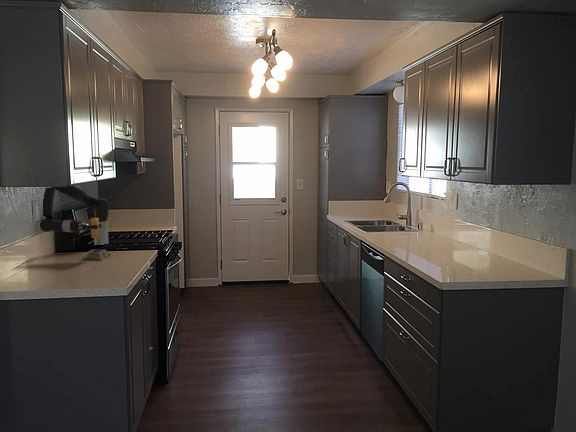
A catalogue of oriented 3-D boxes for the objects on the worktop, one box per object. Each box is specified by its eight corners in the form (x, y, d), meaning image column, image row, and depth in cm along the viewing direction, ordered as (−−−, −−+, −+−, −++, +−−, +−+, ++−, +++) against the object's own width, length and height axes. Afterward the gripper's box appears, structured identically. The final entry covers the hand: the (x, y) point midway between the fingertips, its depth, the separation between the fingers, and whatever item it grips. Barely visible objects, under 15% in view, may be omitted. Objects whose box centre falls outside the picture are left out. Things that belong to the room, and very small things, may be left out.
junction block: (92, 254, 303) (91, 248, 302) (110, 254, 303) (110, 248, 302) (81, 260, 288) (81, 253, 287) (101, 260, 288) (101, 253, 287)
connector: (93, 236, 296) (92, 217, 294) (100, 236, 295) (99, 217, 294) (90, 238, 291) (89, 218, 290) (97, 238, 291) (96, 218, 289)
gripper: (66, 221, 285) (94, 222, 285) (76, 218, 299) (103, 218, 299) (66, 234, 286) (95, 234, 286) (77, 230, 300) (104, 230, 300)
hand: (99, 226), depth 292 cm, fingers closed on connector, 4 cm apart
